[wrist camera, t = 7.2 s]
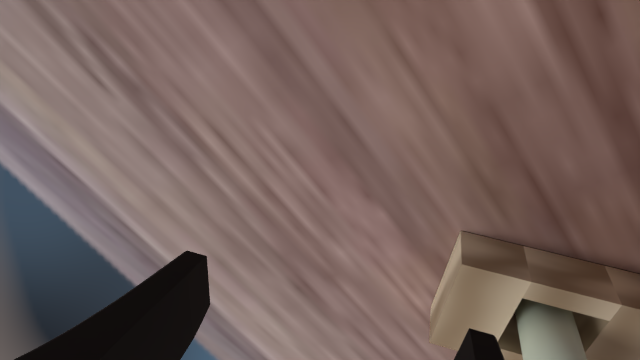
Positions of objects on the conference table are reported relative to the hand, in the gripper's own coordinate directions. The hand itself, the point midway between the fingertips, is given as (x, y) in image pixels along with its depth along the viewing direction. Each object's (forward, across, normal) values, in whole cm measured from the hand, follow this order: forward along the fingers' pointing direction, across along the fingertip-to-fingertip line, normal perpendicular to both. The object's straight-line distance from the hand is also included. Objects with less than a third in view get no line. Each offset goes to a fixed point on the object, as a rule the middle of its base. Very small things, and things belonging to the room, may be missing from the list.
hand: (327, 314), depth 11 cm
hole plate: (+10, -10, +7) cm, 16 cm away
